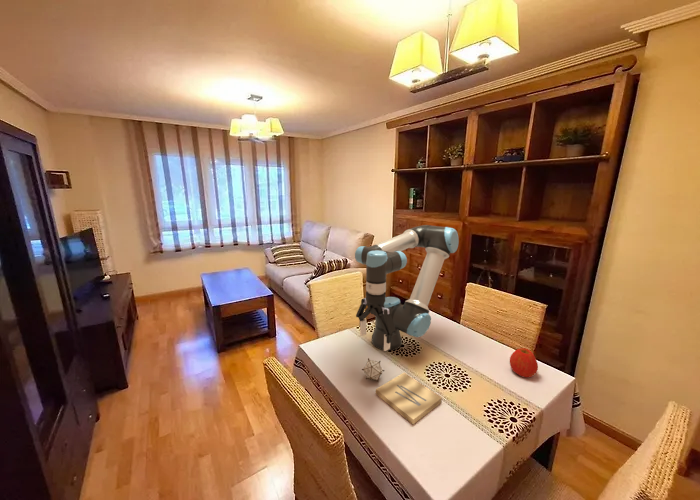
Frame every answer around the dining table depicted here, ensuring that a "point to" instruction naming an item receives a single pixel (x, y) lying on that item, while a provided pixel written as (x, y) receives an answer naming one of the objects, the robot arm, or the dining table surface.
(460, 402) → the dining table surface
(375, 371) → the game die
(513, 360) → the apple
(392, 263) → the robot arm
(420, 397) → the board
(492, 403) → the dining table surface
